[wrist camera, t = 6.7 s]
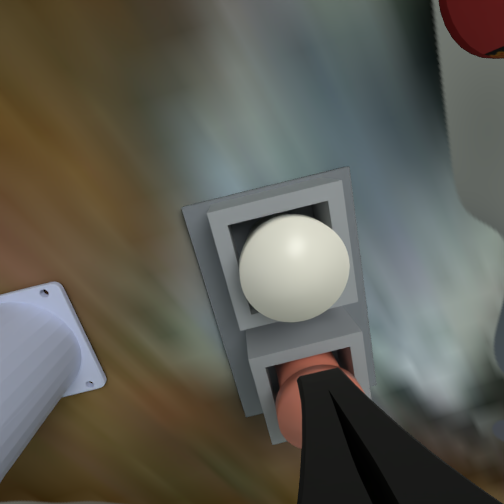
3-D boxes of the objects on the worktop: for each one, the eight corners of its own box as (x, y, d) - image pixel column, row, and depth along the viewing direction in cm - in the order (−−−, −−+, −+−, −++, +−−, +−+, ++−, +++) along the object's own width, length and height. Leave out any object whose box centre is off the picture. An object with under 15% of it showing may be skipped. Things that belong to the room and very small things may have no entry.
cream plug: (248, 293, 18) (253, 333, 14) (227, 216, 16) (227, 233, 12) (326, 274, 18) (355, 307, 14) (312, 195, 16) (341, 205, 12)
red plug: (275, 399, 20) (287, 460, 16) (260, 340, 19) (269, 391, 15) (344, 382, 20) (373, 439, 16) (334, 322, 19) (364, 367, 15)
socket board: (245, 410, 22) (248, 459, 18) (182, 206, 17) (170, 217, 14) (372, 379, 22) (401, 421, 18) (345, 166, 17) (376, 167, 14)
